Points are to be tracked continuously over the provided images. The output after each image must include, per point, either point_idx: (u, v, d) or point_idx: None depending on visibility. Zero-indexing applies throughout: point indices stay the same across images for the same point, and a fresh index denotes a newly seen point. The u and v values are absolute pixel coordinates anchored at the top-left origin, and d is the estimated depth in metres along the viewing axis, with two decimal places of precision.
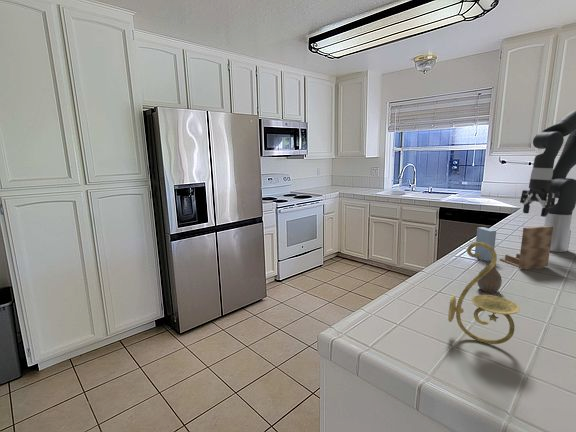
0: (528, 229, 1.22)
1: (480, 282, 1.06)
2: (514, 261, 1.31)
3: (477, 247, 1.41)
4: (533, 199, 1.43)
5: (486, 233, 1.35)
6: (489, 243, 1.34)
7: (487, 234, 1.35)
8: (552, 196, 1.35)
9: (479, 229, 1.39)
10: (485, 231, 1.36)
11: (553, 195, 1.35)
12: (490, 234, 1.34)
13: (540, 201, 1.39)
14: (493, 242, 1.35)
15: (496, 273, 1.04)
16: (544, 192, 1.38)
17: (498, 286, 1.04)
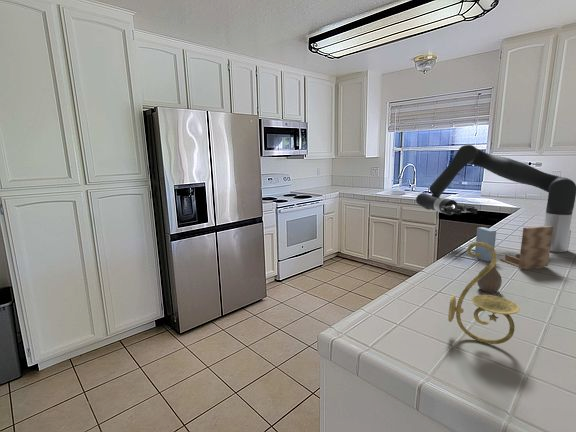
0: (528, 229, 1.22)
1: (480, 282, 1.06)
2: (514, 261, 1.31)
3: (477, 247, 1.41)
4: None
5: (486, 233, 1.35)
6: (489, 243, 1.34)
7: (487, 234, 1.35)
8: (442, 209, 1.54)
9: (479, 229, 1.39)
10: (485, 231, 1.36)
11: (441, 208, 1.55)
12: (490, 234, 1.34)
13: None
14: (493, 242, 1.35)
15: (496, 273, 1.04)
16: None
17: (498, 286, 1.04)
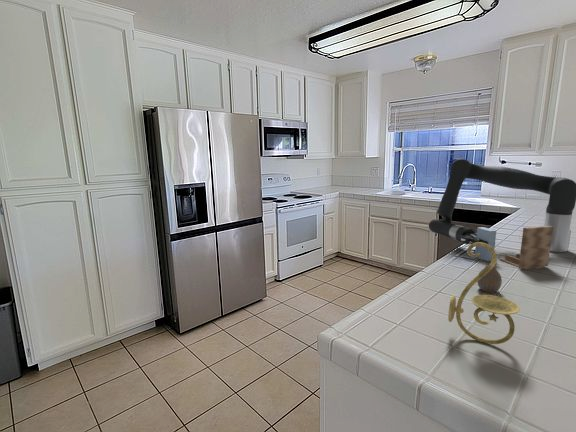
0: (528, 229, 1.22)
1: (480, 282, 1.06)
2: (514, 261, 1.31)
3: (477, 247, 1.41)
4: None
5: (486, 233, 1.35)
6: (489, 243, 1.34)
7: (487, 234, 1.35)
8: (463, 240, 1.42)
9: (479, 229, 1.39)
10: (485, 231, 1.36)
11: (462, 239, 1.43)
12: (490, 233, 1.34)
13: None
14: (493, 242, 1.35)
15: (496, 273, 1.04)
16: None
17: (498, 286, 1.04)
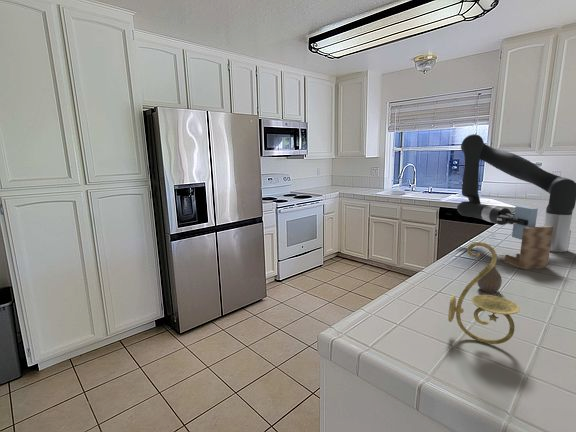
0: (528, 229, 1.22)
1: (480, 282, 1.06)
2: (514, 261, 1.31)
3: (515, 227, 1.32)
4: None
5: (526, 211, 1.26)
6: (530, 222, 1.25)
7: (528, 212, 1.26)
8: (499, 220, 1.33)
9: (518, 208, 1.30)
10: (525, 209, 1.27)
11: (498, 219, 1.34)
12: (531, 211, 1.25)
13: None
14: (534, 221, 1.26)
15: (496, 273, 1.04)
16: None
17: (498, 286, 1.04)
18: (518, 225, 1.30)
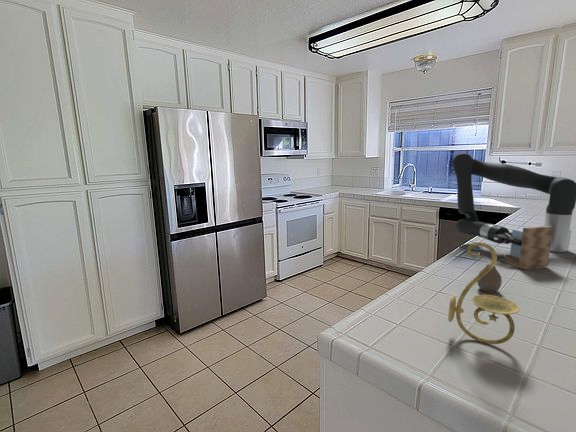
0: (528, 229, 1.22)
1: (480, 282, 1.06)
2: (514, 261, 1.31)
3: (512, 250, 1.33)
4: None
5: None
6: None
7: None
8: (496, 239, 1.35)
9: (515, 231, 1.32)
10: (522, 233, 1.29)
11: (495, 238, 1.36)
12: None
13: None
14: None
15: (496, 273, 1.04)
16: None
17: (498, 286, 1.04)
18: (515, 248, 1.32)
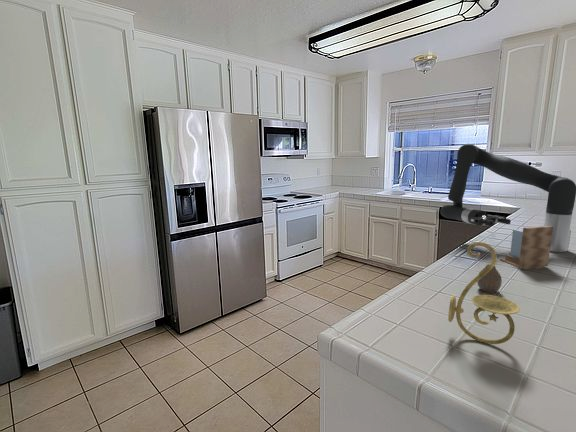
0: (528, 229, 1.22)
1: (480, 282, 1.06)
2: (514, 261, 1.31)
3: (512, 250, 1.33)
4: None
5: None
6: None
7: None
8: (472, 221, 1.49)
9: (515, 231, 1.32)
10: (522, 233, 1.28)
11: (471, 219, 1.49)
12: None
13: None
14: None
15: (496, 273, 1.04)
16: None
17: (498, 286, 1.04)
18: (515, 248, 1.32)
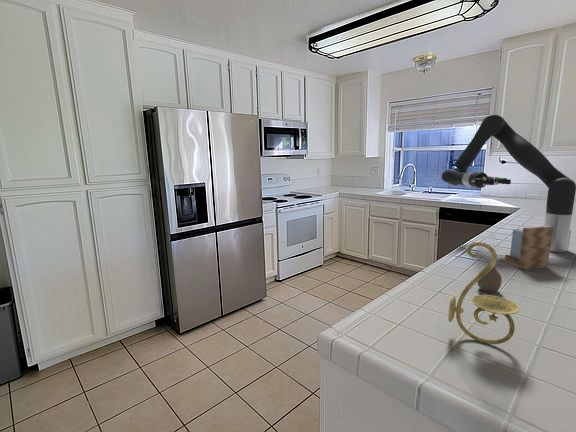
0: (528, 229, 1.22)
1: (480, 282, 1.06)
2: (514, 261, 1.31)
3: (512, 250, 1.33)
4: None
5: None
6: None
7: None
8: (473, 181, 1.50)
9: (515, 231, 1.32)
10: (522, 233, 1.28)
11: (472, 180, 1.50)
12: None
13: None
14: None
15: (496, 273, 1.04)
16: None
17: (498, 286, 1.04)
18: (515, 248, 1.32)
